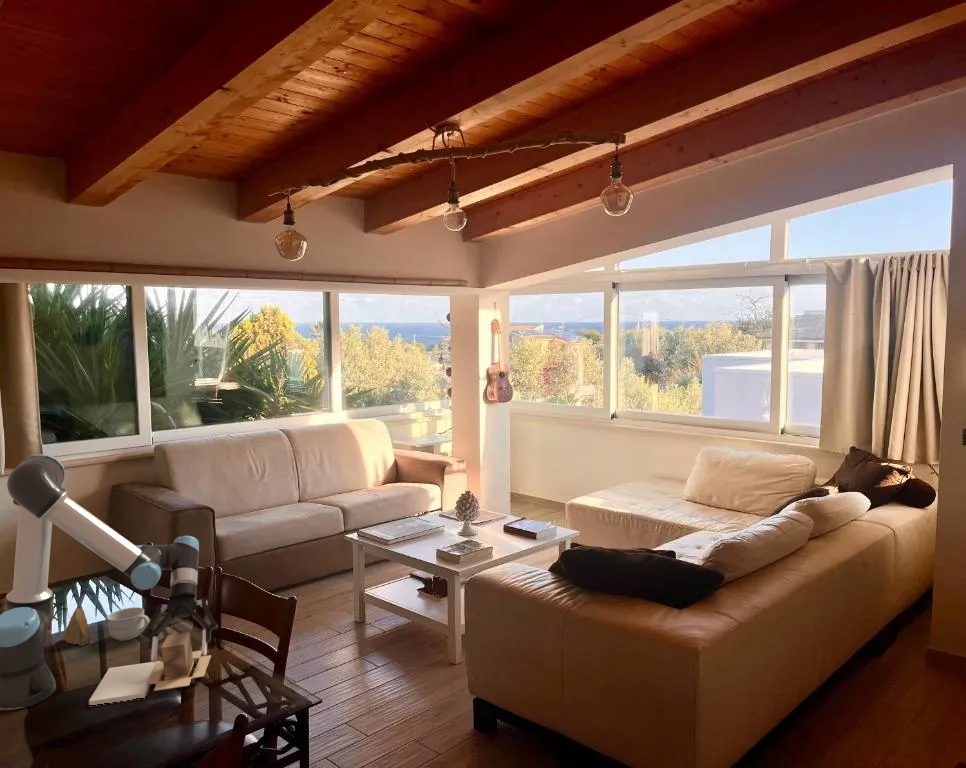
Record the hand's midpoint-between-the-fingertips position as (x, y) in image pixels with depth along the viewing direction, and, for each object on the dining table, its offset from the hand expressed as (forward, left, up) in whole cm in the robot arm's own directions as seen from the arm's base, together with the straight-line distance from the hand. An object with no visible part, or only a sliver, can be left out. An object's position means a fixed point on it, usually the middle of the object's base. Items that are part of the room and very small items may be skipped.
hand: (179, 657), depth 211 cm
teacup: (-21, +31, -6) cm, 38 cm away
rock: (-38, +33, -6) cm, 51 cm away
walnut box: (0, 0, -6) cm, 6 cm away
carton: (0, 0, -6) cm, 6 cm away
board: (-14, -1, -6) cm, 15 cm away
